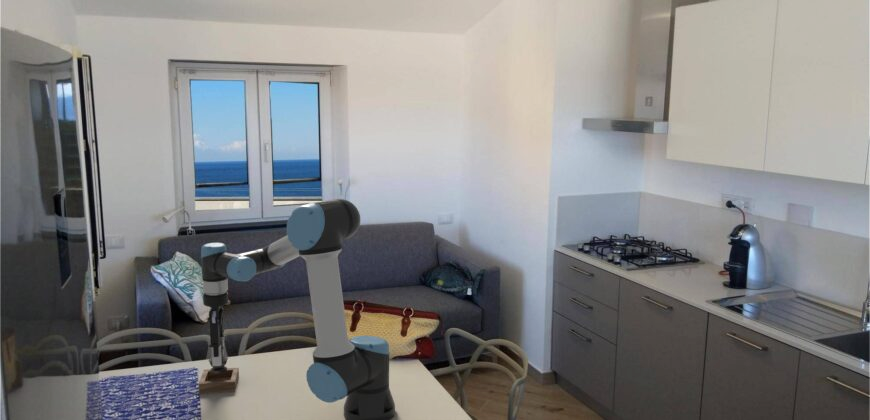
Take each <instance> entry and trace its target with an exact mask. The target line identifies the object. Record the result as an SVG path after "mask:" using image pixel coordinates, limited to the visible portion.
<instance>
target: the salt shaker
mask: <svg viewBox="0 0 870 420" xmlns="http://www.w3.org/2000/svg"><path fill="white" fill-rule="evenodd" d="M222 338H223V337H222ZM222 338H221V337H220V345H221V362H222V365H221V366H212V356H211V357H210V358H208V362H209V365H210V366H211V367H212V368H210V372H212V373H222V372H225V371H226V370H227V368H228V367H227V366H226V365H227V362H228V357H227V356H226V355H225V354H224V355H223V348H225V346H224V347H223V346H222Z"/></svg>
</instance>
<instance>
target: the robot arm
mask: <svg viewBox="0 0 870 420" xmlns="http://www.w3.org/2000/svg"><path fill="white" fill-rule="evenodd" d="M360 224H361V214H360V211H359V209H358V208H357V207H356V205H355V204H354V203H353V202H351V201H349V200H347V199H344V198H335V199H331V200H324V201H317V202H310V203H306V204H303V205H300V206H298V207H295V208H294V210H292V211H291V214H290V215H289V216H288V219H287V222H286V235H285V236H282V237H281V238H280V239H279V238H278V239H277V240H275V241H274V242H272V243H271V244H268V245H267V246H264V247H262V248H258V249H254V250H249V251H245V252H240V253H230V252H227V251H228V250H227V245H226V244H225V243H222V242H210V243H205V244H204V245H202V246H201V249H200V251H201V252H200V253H201V254H200V262H201V278H202V281H201V282H200V286H202V292H203V293H202V303H203V304H202V305H203V306H206V307H209V308H210V309H209V311H208V317H209V318H208V320H209V335H210V336H209V337H210V342H209V343H210V344H209V346H208V347H209V348H211V357H212V366H221V365H222V362H221V345H220V337H221V338H222V346H223V347H224V348H225V345H224V338H226V335H227V334H226V333H225V330H224V329H225V327H224V306H225V305H227V304H229V292H228V290H229V283H228V282H229V280H233V281H237V282H248V281H250V280H251V279H252V278H254V277H255V275H258V274H261V273H266V272H269V271H274V270H279V269H280V268H282V267H284V266H285V265H286V263H288V262H290V261H292V260H295V259H297V258H299V257H301V258H302V259H304V261H305V265H306V271H307V272H306V273H307V279H308V280H307V281H308V286H309V288H308V289H309V294H310V301H311V302H310V303H311V311H312V316H313V325H314V333H315V339H316V345H317V346H316V347H315V348H314V350H313V351H312V358H313V359H312V362H313V363H312V364H310V366H309V367H308V369H307V371H306V375H305V377H306V382H307V385H308V386H307V387H309V390H310V391H311V392H312V394H313V395H314V396H315V397H316V398H318V400H319V401H322V402H325V403H332V404H333V403H334V402H337V401H340V400H344V399H345V398H346V399H345V402H344V405H343V417H344V418H345V419H346V420H391V419H393V418H394V416H395V413H396V404H395V401H394V397H393V395H392V392H391V388H390V355H391V352H390V345H389V343H388V341H387V340H386V339H384V338H382V337H379V336H375V335H374V336H373V335H356V336H353V337H351V338H350V339H349V334H348V327H347V322H346V321H347V320H346V319H347V318H346V312H345V305H344V297H343V288H342V283H341V282H342V281H341V274H340V266H339V258H338V256H339V254H340V253H341V252H342V251H343V245H342V241H345V240H347V239H349V238H351V237H353V236H354V235H355V234H356V233H357V232H358V230H359V228H360V226H361V225H360ZM224 348H223V355H224V356H225V350H224ZM212 366H211V367H212Z"/></svg>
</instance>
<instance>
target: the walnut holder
mask: <svg viewBox="0 0 870 420" xmlns="http://www.w3.org/2000/svg"><path fill="white" fill-rule="evenodd" d="M210 369H211V368H210ZM210 369H203V370H202V371H203V372H202V374H201V377H200V380H199V382H198V395H200V394H217V393H227V392H228V393H231V392H232V393H233V392H236V390H237V386H238V382H239V378H240V371H239V369H240V368H239V367H227V370H226V371H225V372H222V373H212V372H210Z"/></svg>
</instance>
